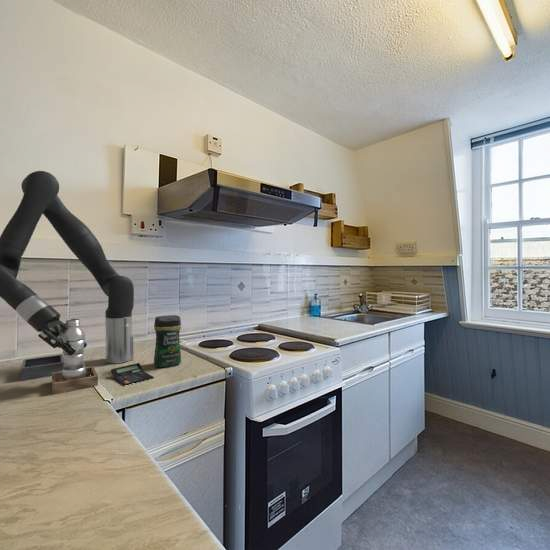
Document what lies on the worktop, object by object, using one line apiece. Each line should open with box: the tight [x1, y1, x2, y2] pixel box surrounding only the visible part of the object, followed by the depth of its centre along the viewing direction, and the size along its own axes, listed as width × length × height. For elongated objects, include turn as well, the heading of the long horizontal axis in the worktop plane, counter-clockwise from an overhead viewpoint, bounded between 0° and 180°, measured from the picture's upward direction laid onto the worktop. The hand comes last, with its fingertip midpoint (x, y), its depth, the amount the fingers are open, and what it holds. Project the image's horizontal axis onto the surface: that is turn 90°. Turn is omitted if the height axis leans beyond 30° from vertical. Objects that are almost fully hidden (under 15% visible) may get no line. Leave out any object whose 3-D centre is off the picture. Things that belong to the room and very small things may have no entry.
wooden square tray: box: [51, 366, 99, 395], centre depth 100 cm, size 12×12×3 cm
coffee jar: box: [153, 314, 182, 368], centre depth 119 cm, size 10×8×19 cm
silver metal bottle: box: [62, 318, 86, 382], centre depth 99 cm, size 6×7×20 cm
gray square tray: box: [20, 353, 64, 382], centre depth 110 cm, size 12×12×4 cm
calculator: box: [110, 362, 154, 387], centre depth 106 cm, size 9×12×3 cm
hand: (79, 350), depth 100 cm, fingers closed on silver metal bottle, 6 cm apart
